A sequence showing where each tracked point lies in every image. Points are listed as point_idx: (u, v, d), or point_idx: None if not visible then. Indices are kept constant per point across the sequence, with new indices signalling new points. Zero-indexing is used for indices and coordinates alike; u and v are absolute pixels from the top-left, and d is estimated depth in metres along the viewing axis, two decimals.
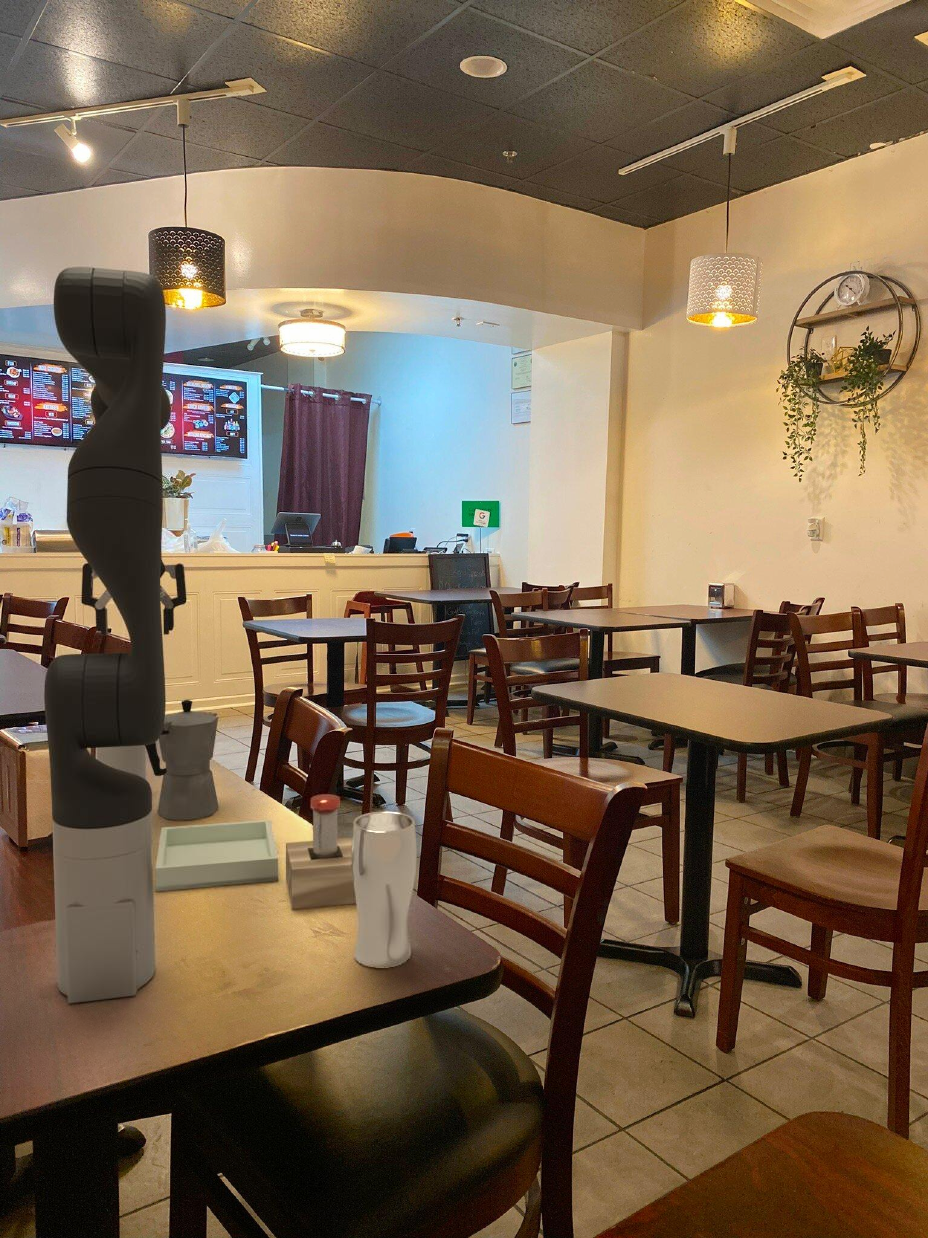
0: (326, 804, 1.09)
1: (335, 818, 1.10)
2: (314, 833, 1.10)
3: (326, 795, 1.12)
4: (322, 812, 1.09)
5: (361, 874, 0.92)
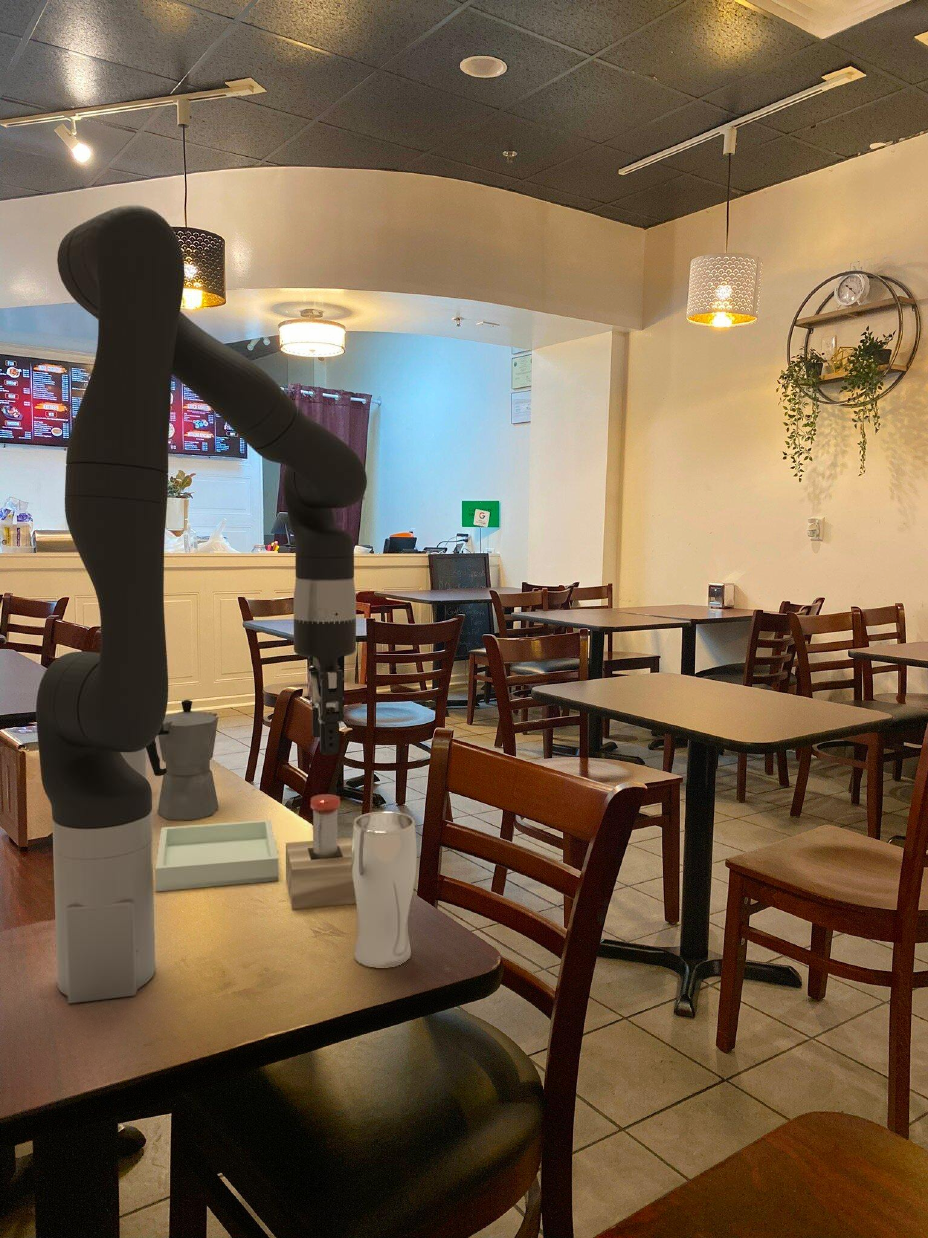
0: (326, 804, 1.09)
1: (335, 818, 1.10)
2: (314, 833, 1.10)
3: (326, 795, 1.12)
4: (322, 812, 1.09)
5: (361, 874, 0.92)
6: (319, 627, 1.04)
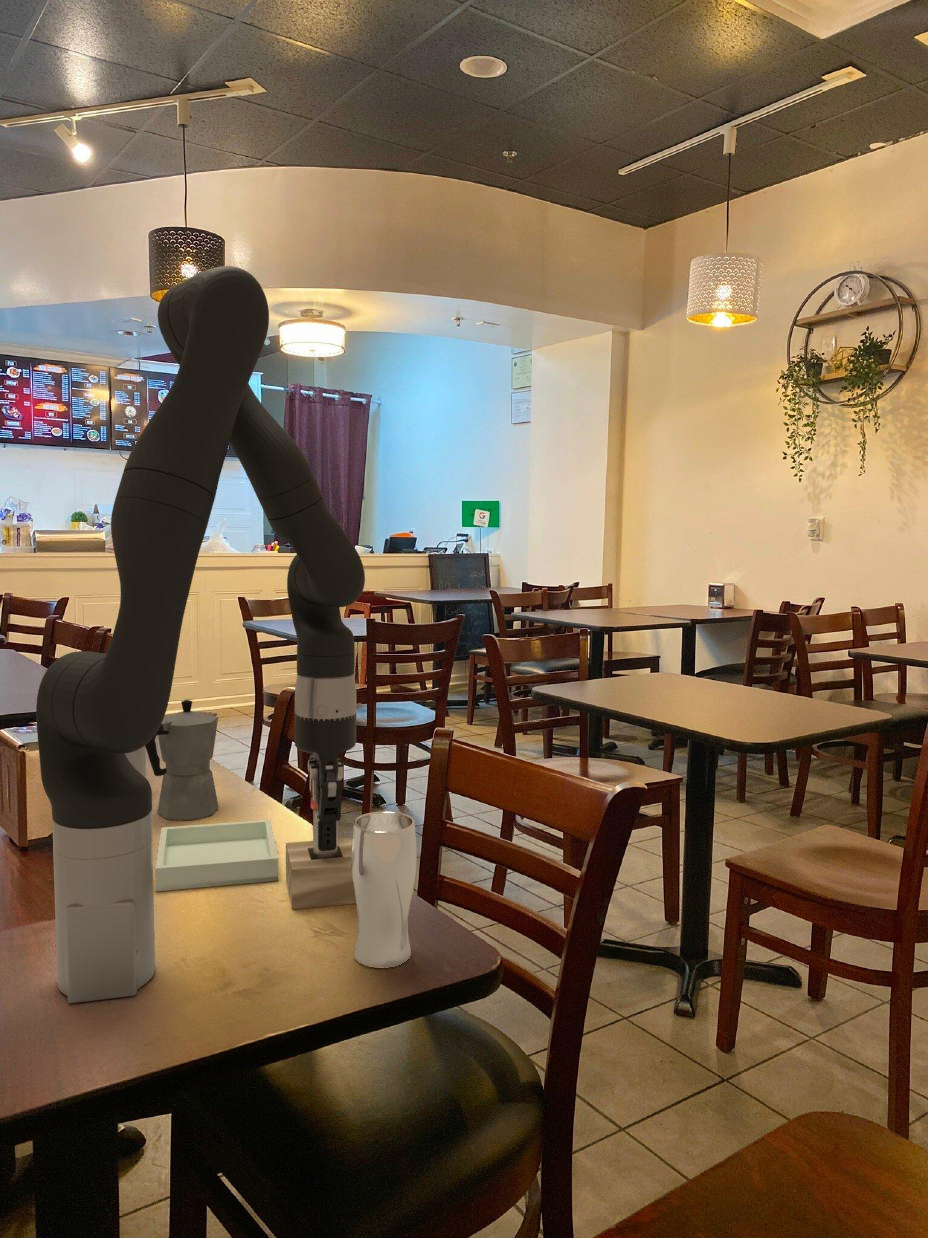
0: None
1: None
2: (314, 833, 1.10)
3: None
4: None
5: (361, 874, 0.92)
6: (320, 724, 1.06)
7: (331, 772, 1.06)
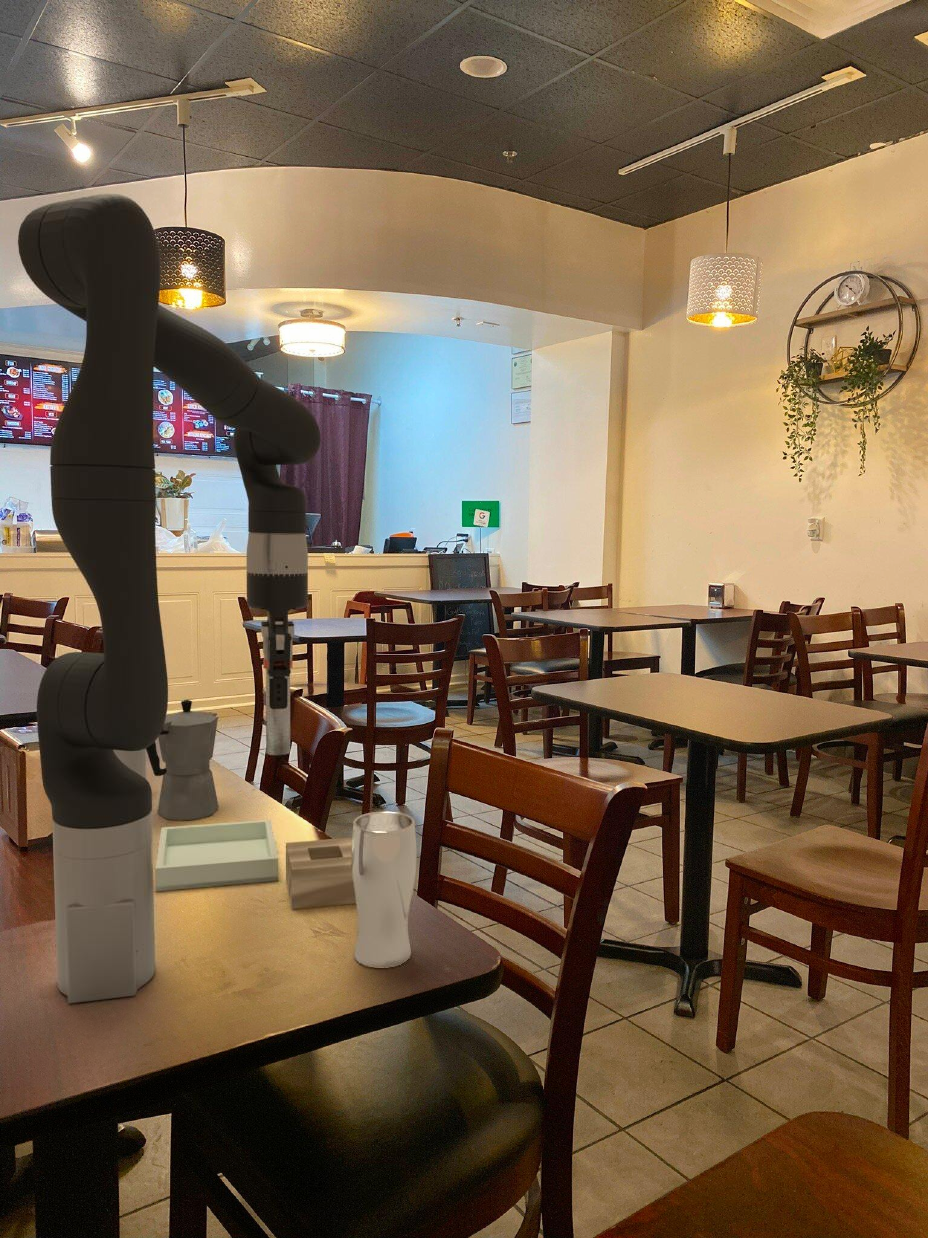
0: (278, 662, 1.10)
1: None
2: (267, 693, 1.12)
3: None
4: None
5: (361, 874, 0.92)
6: (270, 579, 1.07)
7: (280, 627, 1.07)
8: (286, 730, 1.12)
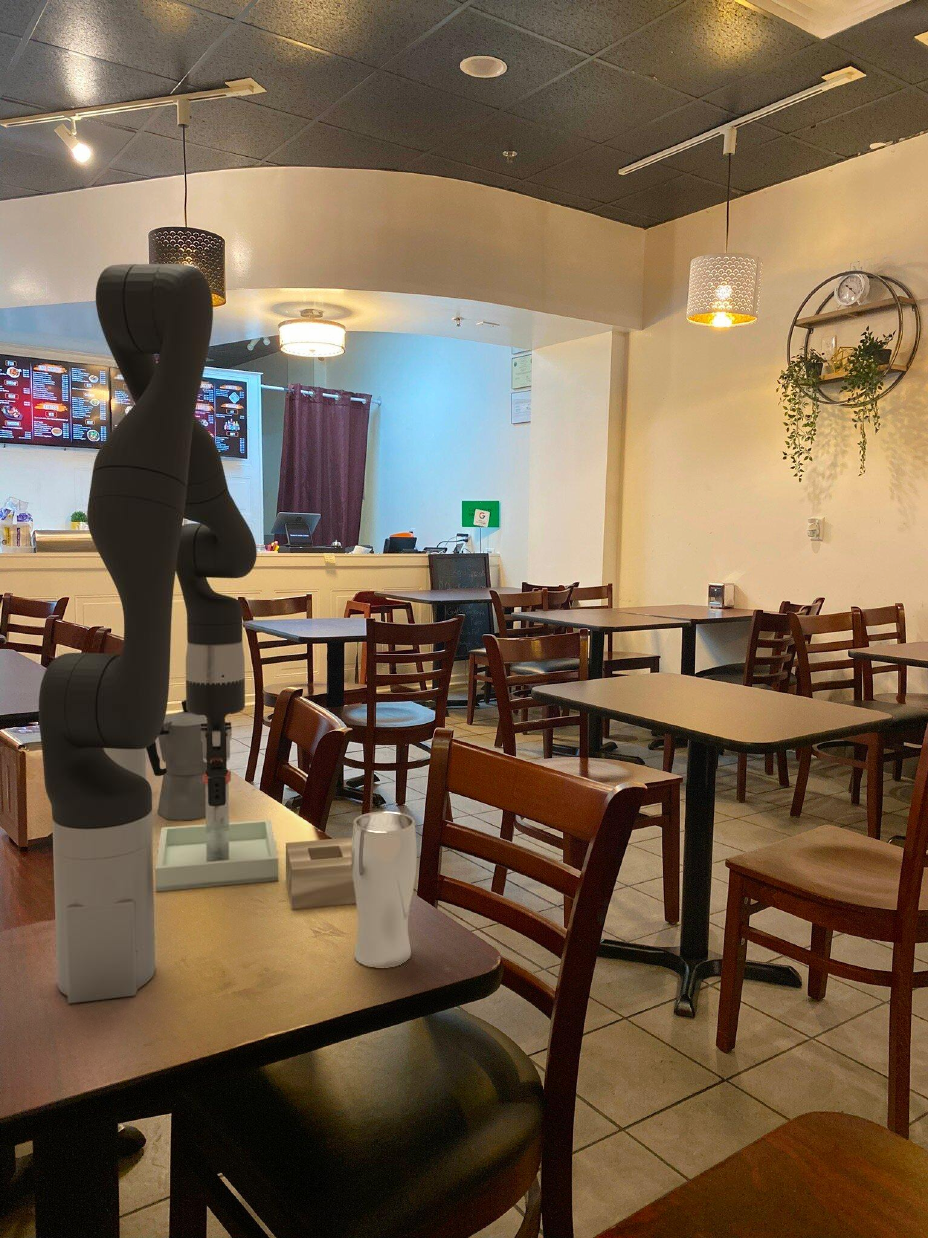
0: None
1: (226, 791, 1.18)
2: (206, 805, 1.18)
3: None
4: None
5: (361, 874, 0.92)
6: (207, 688, 1.13)
7: None
8: (225, 840, 1.19)
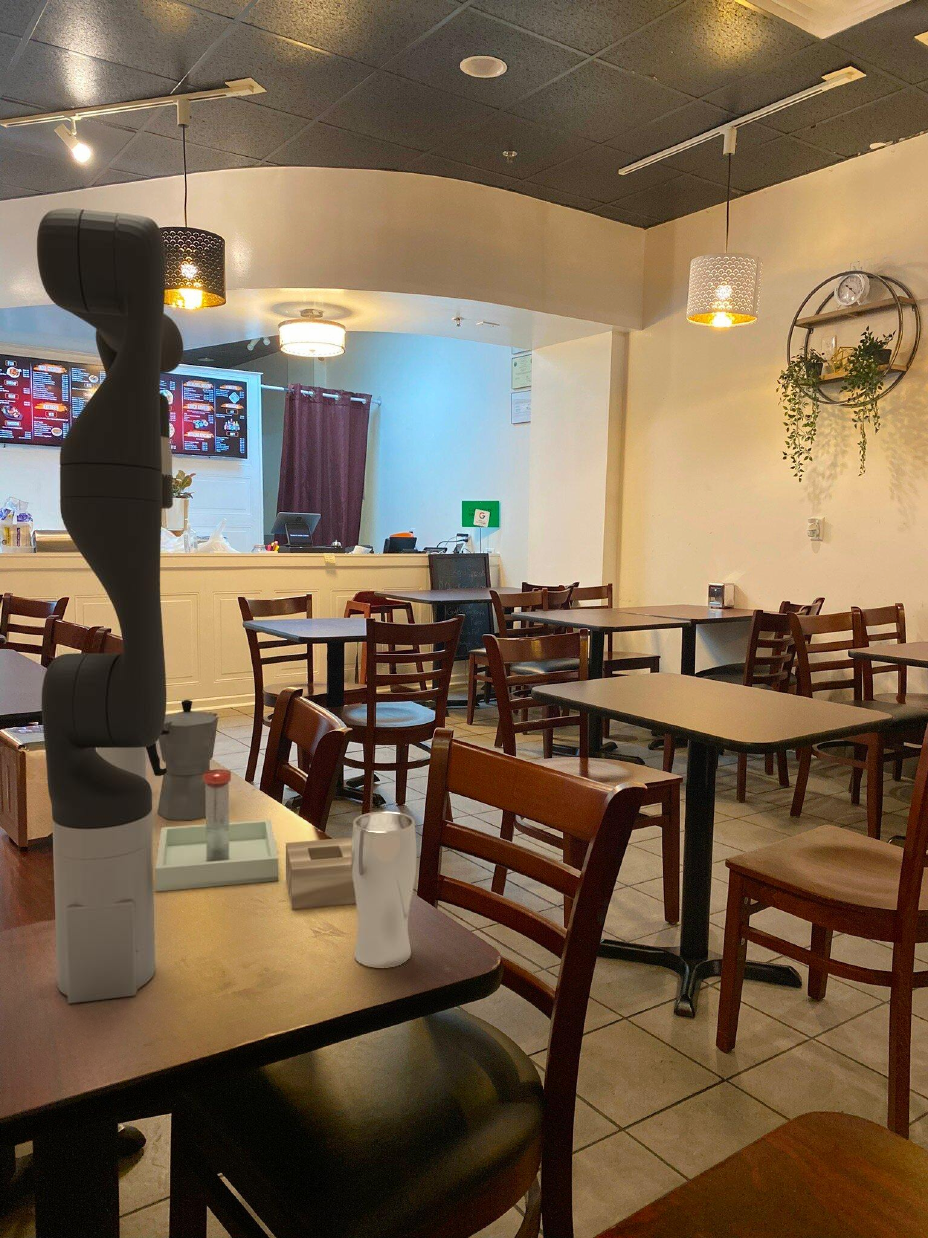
0: (216, 777, 1.17)
1: (226, 791, 1.18)
2: (206, 805, 1.18)
3: (219, 770, 1.20)
4: (213, 785, 1.17)
5: (361, 874, 0.92)
6: None
7: None
8: (225, 840, 1.19)
